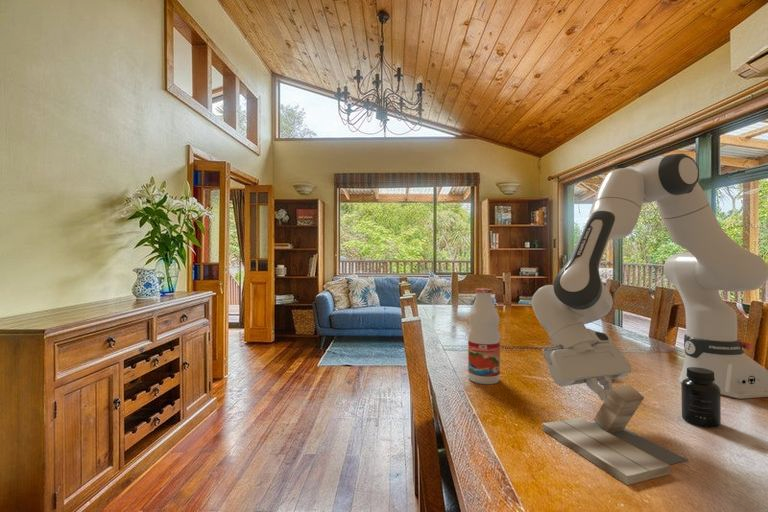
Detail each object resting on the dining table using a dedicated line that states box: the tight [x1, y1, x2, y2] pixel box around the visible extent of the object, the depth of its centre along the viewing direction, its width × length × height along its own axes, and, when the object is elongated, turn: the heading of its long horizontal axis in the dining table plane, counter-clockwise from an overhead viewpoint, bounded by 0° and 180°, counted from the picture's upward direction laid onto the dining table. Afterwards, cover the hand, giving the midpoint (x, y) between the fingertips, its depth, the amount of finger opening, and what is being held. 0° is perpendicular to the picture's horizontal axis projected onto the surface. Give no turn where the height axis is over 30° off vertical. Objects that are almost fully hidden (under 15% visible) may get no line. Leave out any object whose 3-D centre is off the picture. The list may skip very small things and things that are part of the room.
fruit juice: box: [467, 287, 501, 385], centre depth 113 cm, size 9×9×28 cm
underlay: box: [590, 421, 689, 466], centre depth 76 cm, size 17×7×1 cm, turn 17°
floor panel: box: [542, 416, 671, 486], centre depth 73 cm, size 20×10×2 cm, turn 17°
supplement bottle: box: [680, 367, 722, 429], centre depth 84 cm, size 7×7×12 cm
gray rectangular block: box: [593, 384, 645, 433], centre depth 79 cm, size 4×5×10 cm
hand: (609, 399), depth 80 cm, fingers closed
